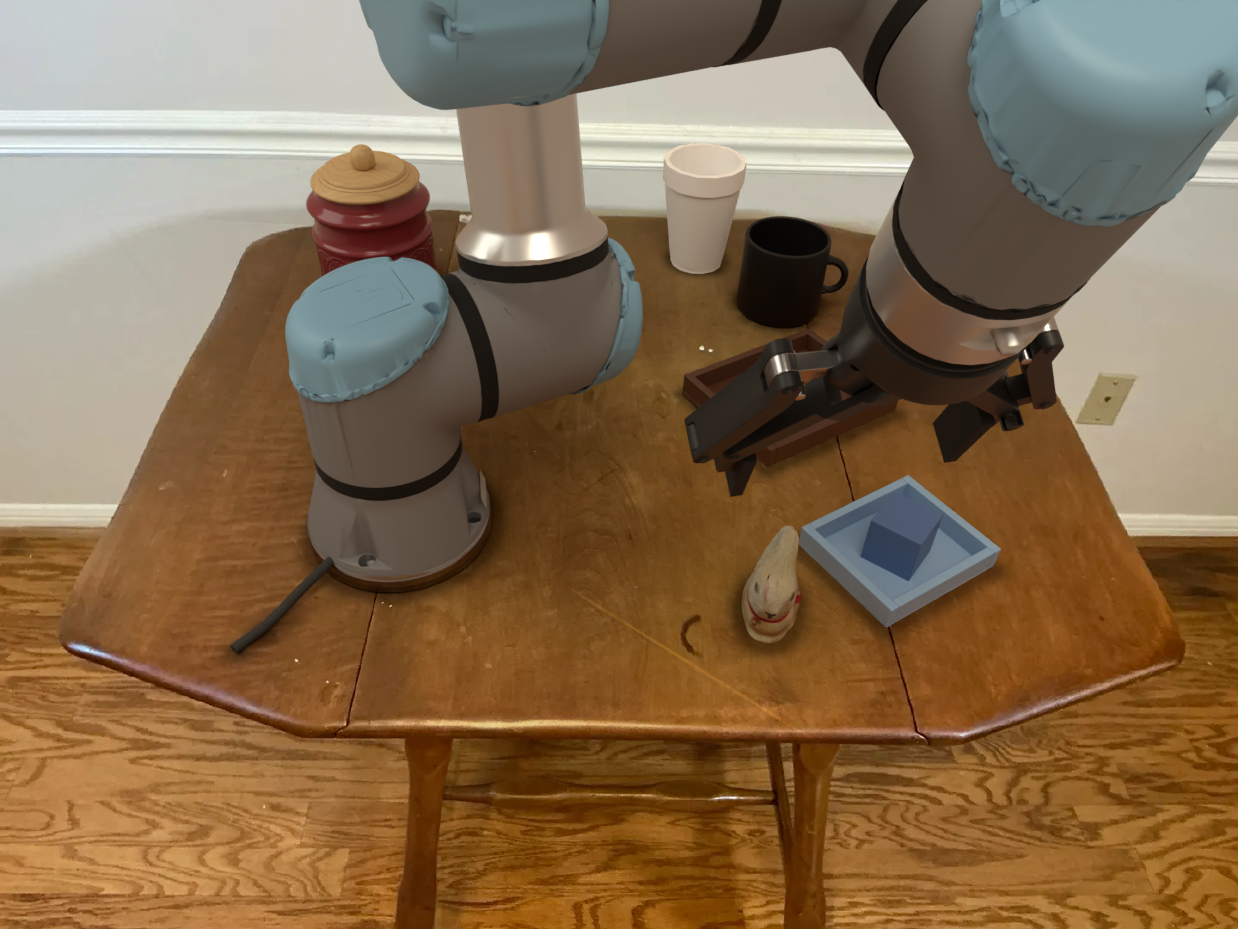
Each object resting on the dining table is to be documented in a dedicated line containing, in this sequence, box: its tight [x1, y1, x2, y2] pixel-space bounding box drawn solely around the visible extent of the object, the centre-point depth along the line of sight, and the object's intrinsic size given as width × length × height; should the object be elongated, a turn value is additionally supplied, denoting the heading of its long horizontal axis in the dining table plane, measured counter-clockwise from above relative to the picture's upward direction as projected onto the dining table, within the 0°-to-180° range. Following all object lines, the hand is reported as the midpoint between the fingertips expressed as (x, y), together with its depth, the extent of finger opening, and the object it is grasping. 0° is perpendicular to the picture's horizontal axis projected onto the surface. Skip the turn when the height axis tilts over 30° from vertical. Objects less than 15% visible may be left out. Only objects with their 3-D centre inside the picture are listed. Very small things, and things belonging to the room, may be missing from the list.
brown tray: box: [681, 327, 899, 468], centre depth 95 cm, size 17×14×3 cm
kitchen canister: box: [305, 143, 439, 277], centre depth 103 cm, size 13×13×18 cm
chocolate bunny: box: [741, 525, 803, 644], centre depth 72 cm, size 6×8×10 cm
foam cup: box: [662, 142, 748, 275], centre depth 113 cm, size 10×9×13 cm
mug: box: [736, 215, 849, 328], centre depth 107 cm, size 9×12×9 cm
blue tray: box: [798, 474, 1002, 628], centre depth 80 cm, size 13×11×3 cm
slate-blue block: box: [860, 492, 943, 581], centre depth 79 cm, size 4×4×4 cm
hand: (838, 458), depth 59 cm, fingers open, 13 cm apart
